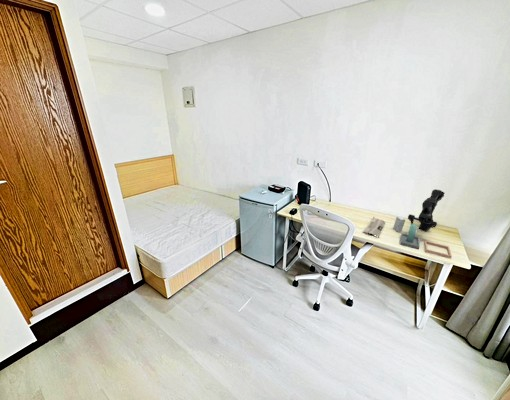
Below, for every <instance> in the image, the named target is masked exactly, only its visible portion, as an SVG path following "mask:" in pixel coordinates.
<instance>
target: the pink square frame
mask: <svg viewBox="0 0 510 400" xmlns="http://www.w3.org/2000/svg"><path fill="white" fill-rule="evenodd" d="M428 245H429V246H432V247H433V246H434V247H437V248H442V249H445V250H446V251H447V254H446V253H442V252H439V251H435V250H431V249H428ZM424 251H425V253H427V254H432V255H436V256H440V257H444V258H447V259H452V257H453V256H452V253H451V249H450V246H448V245H444V244H439V243H436V242H431V241H428V240H424Z"/></svg>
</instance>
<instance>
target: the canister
mask: <svg viewBox="0 0 510 400" xmlns="http://www.w3.org/2000/svg"><path fill="white" fill-rule="evenodd" d="M418 228H419V226H418V225H417V224H415V223H413V224H411V223H410V226H409V230H408V232H407V235H408V236H407V239H406V241H407V242H410V243H412V242H413V240H414V237H416V234H417V231H418Z"/></svg>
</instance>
